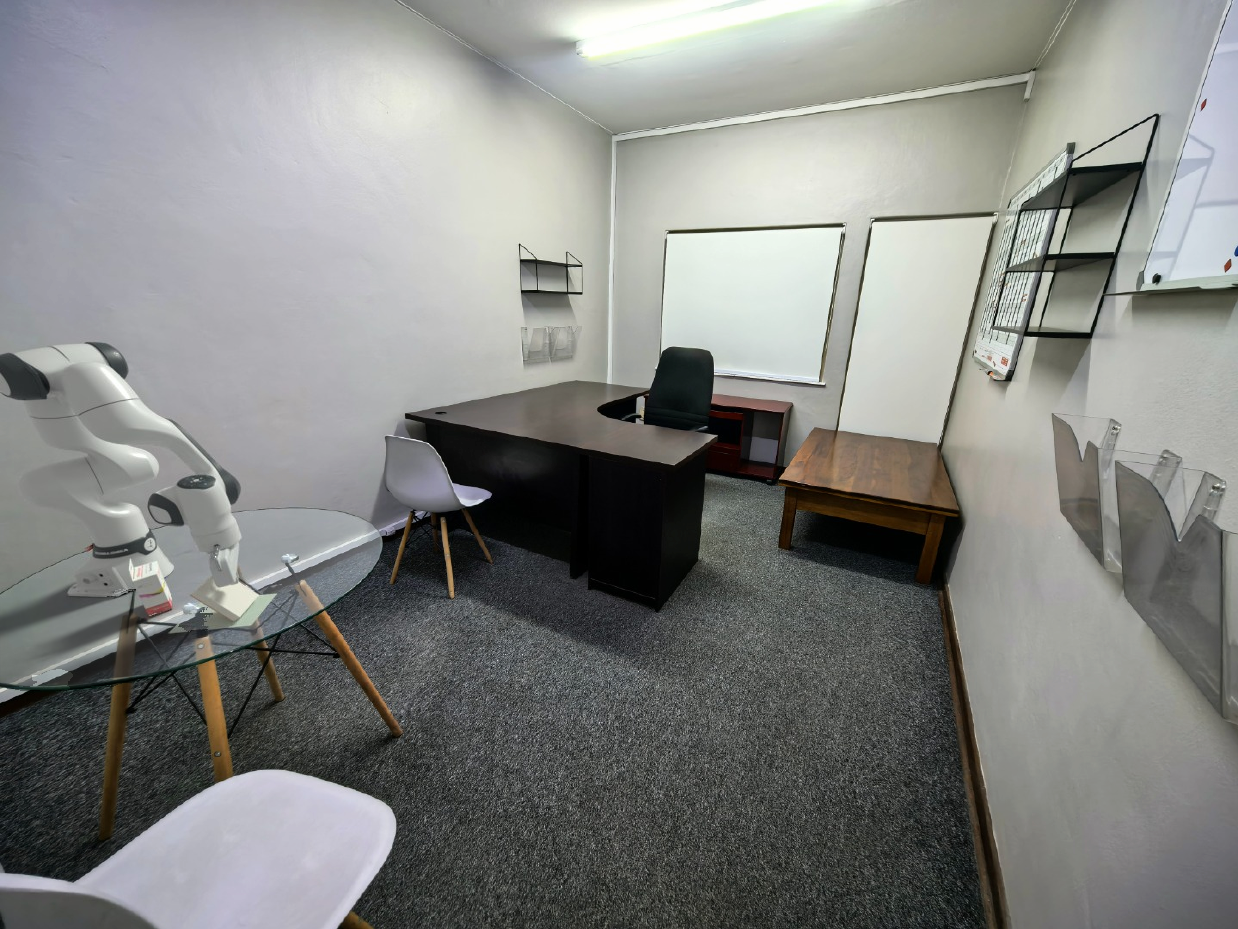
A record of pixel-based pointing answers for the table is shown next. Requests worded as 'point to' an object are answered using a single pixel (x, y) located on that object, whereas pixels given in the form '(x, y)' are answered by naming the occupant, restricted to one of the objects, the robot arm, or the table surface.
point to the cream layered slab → (225, 598)
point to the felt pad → (222, 622)
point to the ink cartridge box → (151, 587)
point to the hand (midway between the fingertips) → (234, 581)
